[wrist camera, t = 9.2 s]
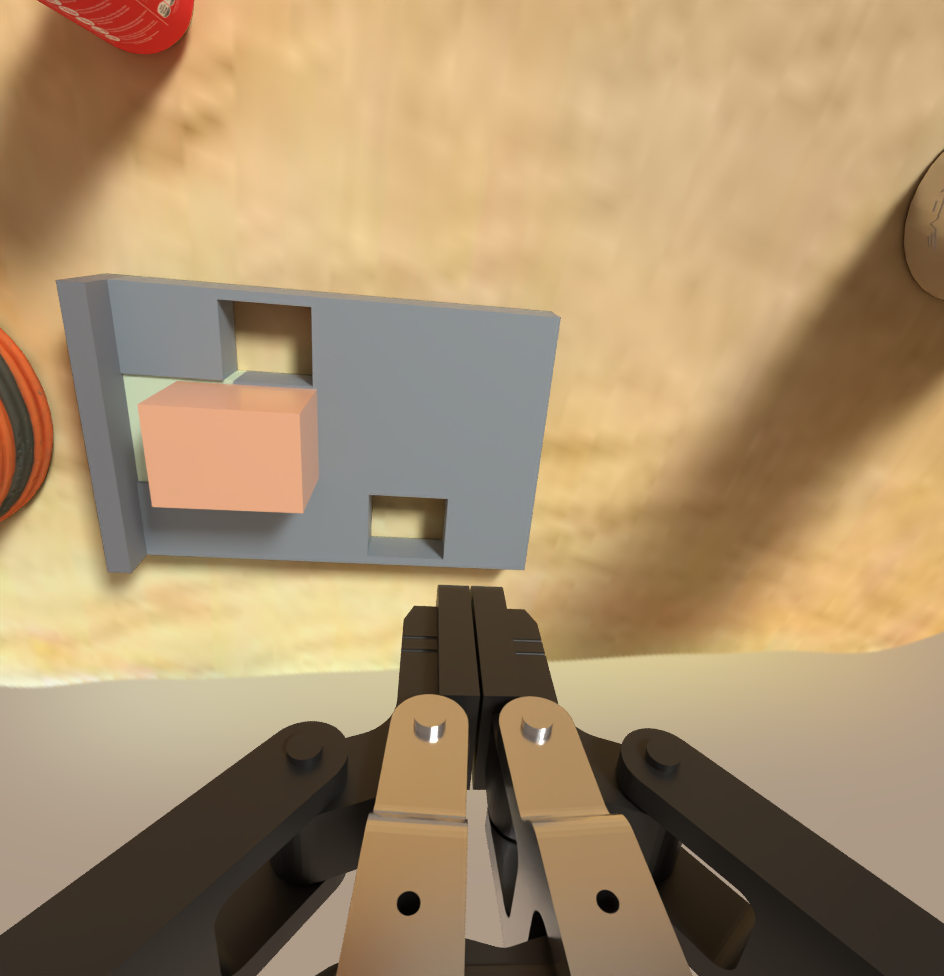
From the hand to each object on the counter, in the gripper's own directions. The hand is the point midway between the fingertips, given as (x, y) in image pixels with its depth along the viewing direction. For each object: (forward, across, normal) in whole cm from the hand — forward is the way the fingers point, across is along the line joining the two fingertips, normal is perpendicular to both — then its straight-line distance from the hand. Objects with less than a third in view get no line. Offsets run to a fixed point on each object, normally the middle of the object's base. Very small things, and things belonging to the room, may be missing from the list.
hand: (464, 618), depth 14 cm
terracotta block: (+19, +10, +2) cm, 22 cm away
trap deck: (+22, +6, +3) cm, 23 cm away
